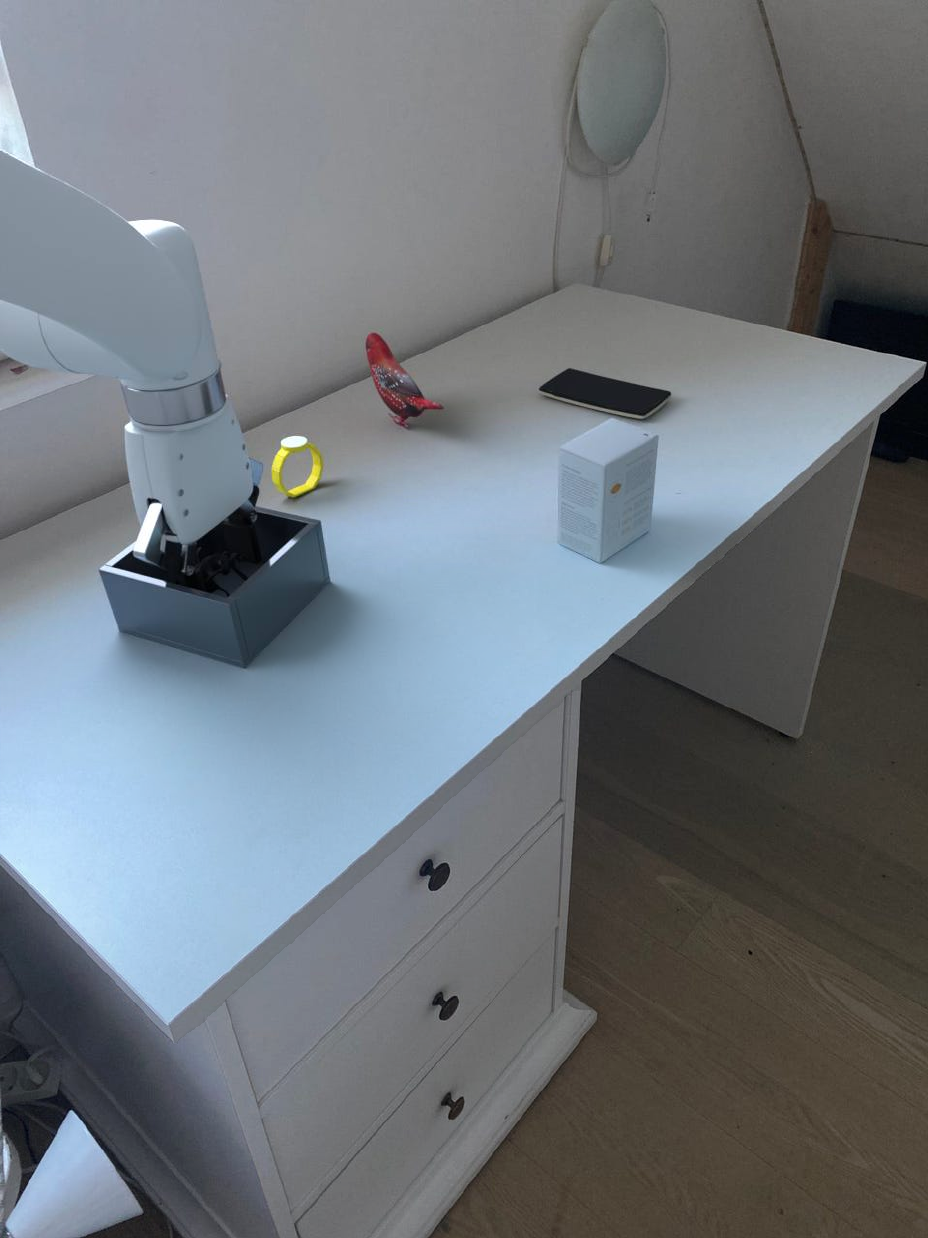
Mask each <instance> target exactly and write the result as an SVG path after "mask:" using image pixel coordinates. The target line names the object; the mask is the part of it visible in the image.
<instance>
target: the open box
mask: <svg viewBox="0 0 928 1238" xmlns="http://www.w3.org/2000/svg"><path fill="white" fill-rule="evenodd" d="M255 509H256V510H257V513H258V517H257V520H256V521H255V522H254V523H253V524H254V525H255V529H256V534H257V538H258V543H259V548H260V553H261V558H262V560H261V561H260V562H259V563H258V564H253V563H248V562H244V561H242V562H238V561H237V560H235V562H234V563H235V566H236V568H237V569H238V570H240V571H241V572H242V573H244V574H245V575H246V576H247V577H248V579H247V580H246V581H245V580H243V579H242V578H241V577H240V576H239V575H237V573H236V572H235V571H234V570H233V569H232V568H231V571H230V573H229V574H228V575H223V574H222V573H219V574H217V575H216V576H215V577H214V578H215V579H216V580H217V581H214V582H216V583H217V584H218V585H219V586H220V587H221V588H223V589H224V590H227V591H228V593H229V595H230V596H229V597H227V595H226V593H225V592H224V591H222V590H216V591H214V592H213V593H212V594H211V593H208V592H204V591H200V590H196V589H193V588H189V587H185V586H181V585H178V584H174V583H171V580H170V577H169V573H168V571H167V570H163V569H161V568H158V567H155V566H152V565H150V564H149V563H146V562H144V561H142V560H140V559H138V558H136V557H134V555H133V549H134V546H135V543H136V541H137V539H136V540H135V541H133V542H132V543H131V544H130V545H128V546H127V547H125V548H124V549H123V550H122V551H120V552H119V553H118V554H117V555H115V556H114V557H112V558H111V559H110V560H109V561H107V562H106V563H105V564H104V565H102V566H101V567H100V568H98V572H99V575H100V578H101V582H102V584H103V587H104V590H105V593H106V597H107V599H108V602H109V606H110V609H111V611H112V614H113V617H114V620H115V623H116V626H117V629H118V631H119V632H121V633H126V634H128V635H132V636H134V637H138V638H142V639H145V640H149V641H152V642H155V643H159V644H162V645H164V646H168V647H172V648H176V649H179V650H182V651H184V652H185V651H186V652H189V653H192V654H195V655H199V656H202V657H206V658H209V659H213V660H215V661H219V662H223V663H226V664H229V665H231V666H232V665H233V666H235V667H239V668H243V669H246V668H247V667H248V666H249V665H250V664H251V663H252V662H253V661H254V660H255V659H256V658H257V657H258V656H259V655H260V653H261V652H262V651H264V649H266V647H268V645H269V644H271V642H273V640H274V639H275V638H276V637H277V636H279V634H280V633H281V632H282V631H283V630H284V629H285V628H286V627H287V626H288V625H289V624H290V623H291V622H292V621H293V620H294V619H295V618H296V617H297V616H298V615H299V614H300V613H301V612H302V611H303V610H304V609H305V607H307V605H309V603H310V602H312V600H313V599H315V598H316V596H317V595H318V594H319V593H320V592H322V590H323V589H324V588H325V587H326V586H328V584H329V583H330V582H331V576H330V569H329V564H328V557H327V551H326V550H327V549H326V543H325V538H324V531H323V526H322V521H321V520H320V519H315V518H312V517H307V516H302V515H298V514H294V513H287V512H284V511H279V510H274V509H270V508H266V507H262V506H257V505H256V506H255ZM226 518H228V517H226ZM222 533H223V534H222ZM221 536H222V540H221V544H220V545H219V542H220V539H221ZM160 545H161V541H160V544H159V548H160ZM218 545H219V548H218ZM200 547H201V554H200V558H201V562H202V560H203V559H205V558H207V557H210V556H214V555H216V553H217V549H218V553H217V556H216V557H215V558H214V559H215V560H216V561H217V562H218V563H219V561H220V558H221V554H223V552H228V553H229V551H228V546H227V542H226V538H225V534H224V529H223V523H222V521H221V522H220V523H219V524H218V525H216V526H215V527H214V528H213V529H211V530H210V531H209V532H207V533H206V534H205V535H204V536H202V537H201V538H200V539H198V540H197V549H196V559H195V566H196V565H197V564H198V559H197V550H198V549H199V548H200ZM181 553H182V544H179V543H175V552H174V556H175V557H178V558H181ZM222 560H223V562H224V564H225V565H226V566H227V567H228V561H229V560H228V557H227V555H226V554H223V556H222ZM207 569H208V570H209V571H210V572H211V574H213V573H214V571H213V570H212V567H211V565H210V564H209V565H207ZM208 570H207V572H208V575H209V576H210V574H209V571H208ZM238 584H242V585H241V586H239V585H238Z"/></svg>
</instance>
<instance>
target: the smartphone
mask: <svg viewBox="0 0 928 1238" xmlns="http://www.w3.org/2000/svg"><path fill="white" fill-rule="evenodd" d="M538 394H540V395H543V396H545V397H549V398H552V399H555V400H558V401H562V402H566V403H569V404H573V405H577V406H580V407H584V408H588V409H591V410H597V411H601V412H605V413H609V414H614V415H618V416H622V417H628V418H634V419H638V420H639V419H640V420H642V419H647V418H648V417H650V416H652V415H653V414H654V413H656V412H657V411H658V410H659V409H661V408H662V407H663V406H664V405H665V404H666V403H668V401H669V400H670V399H671V397H672V392H671V391H670V390H666V389H662V388H656V387H652V386H648V385H647V386H646V385H642V384H637V383H633V382H629V381H624V380H619V379H616V378H611V377H607V376H602V375H599V374H594V373H590V372H586V371H583V370H579V369H575V368H572V367H568V368H566V369H565V370H563V371H561V372H559V373H558V374H556V375H555V376H553V377H552V378H550V379H549V380H548V381H546V382H545V383H543V384H542V385H540V386H539V387H538Z"/></svg>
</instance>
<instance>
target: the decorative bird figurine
mask: <svg viewBox="0 0 928 1238" xmlns="http://www.w3.org/2000/svg"><path fill="white" fill-rule="evenodd" d="M365 352H366V357H367V362H368V365H369V369H370V373H371V378H372V381H373V384H374V387H375V388H376V389H375V390H376V391H377V393H378V395H379V396H380V398H381V400H382V402H383V403H384V404H385V406H386V407H387V408H388V409H389V410H390V411H391V412H392V413H393V414H395V415H392V413H390V412H388V413H387V415H389V417H391V418H392V420H393V422H394V423H395V424H396V425H400V426H402V427H403V428H404V429H407V430H408V431H410V427H409V425H408V424H407V422H405V421H406V420H408V419H409V418H418V417H419V416H422V414H423V413H424V411H427V410H435V411H437V410H438V411H439V410H444V407H443V405H441V404H440V403H436V402H434V401H432V400H429V399H428V398H425V396H424V395H423V392H422V391H421V389H420V388H419V386H418V385H417V383H416V382H415V381H414V379H413V378H412V376H410V374H409V373H408V372H407V371H406V370H405V369H404V368H403V366H402V365H401V364H400V363H399V362H398V360H397V359H396V357H395V356H394V354H393V353H392V351H391V348H390V347H389V345H388V343H387V342H386V341H385V340H384V339H383V337H382V336H381V335H380V334H379V333H377V332H370V333H369V334H368V335H367V337H366V339H365Z"/></svg>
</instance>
